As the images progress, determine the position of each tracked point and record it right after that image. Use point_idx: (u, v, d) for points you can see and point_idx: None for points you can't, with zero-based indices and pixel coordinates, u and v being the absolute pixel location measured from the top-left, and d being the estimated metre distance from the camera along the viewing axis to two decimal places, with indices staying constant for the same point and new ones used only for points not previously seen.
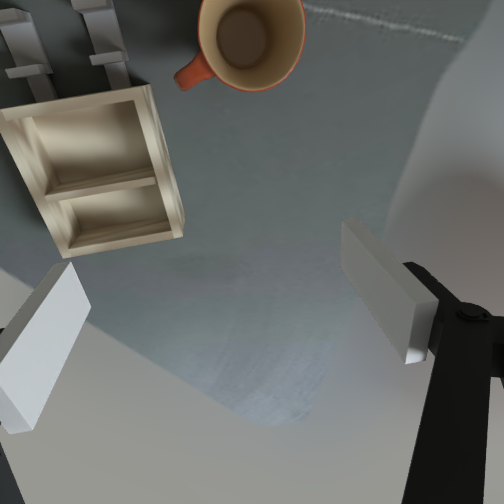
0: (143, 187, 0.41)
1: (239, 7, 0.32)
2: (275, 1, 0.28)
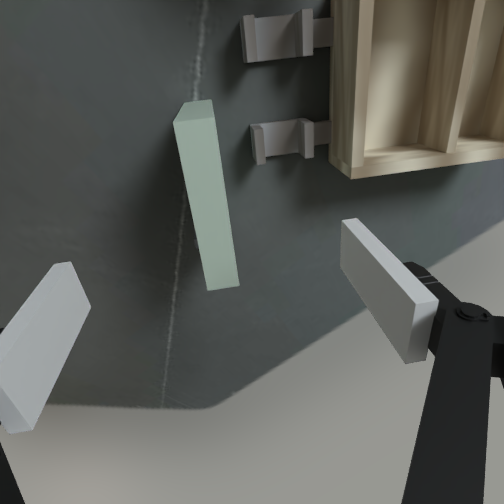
0: None
1: None
2: None
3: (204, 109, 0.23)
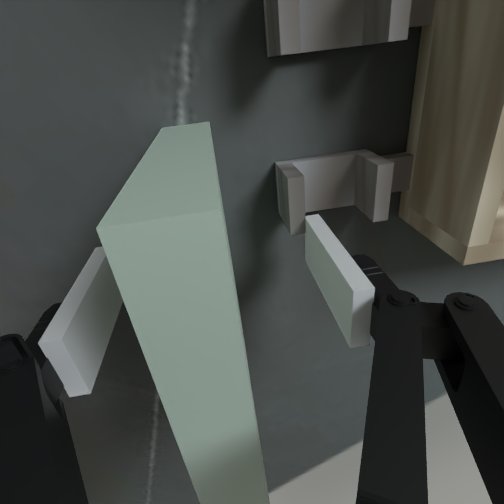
0: None
1: None
2: None
3: (195, 157, 0.10)
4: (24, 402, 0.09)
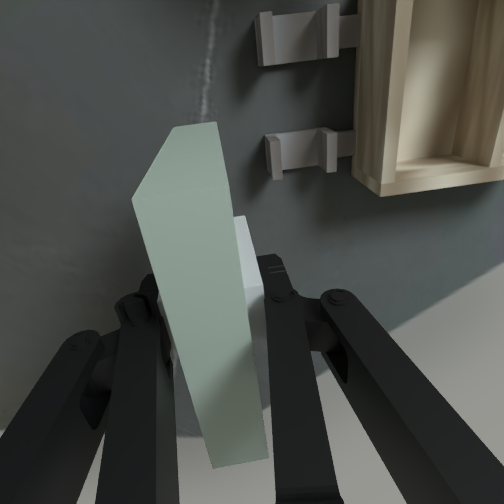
0: None
1: None
2: None
3: (205, 149, 0.12)
4: (143, 357, 0.10)
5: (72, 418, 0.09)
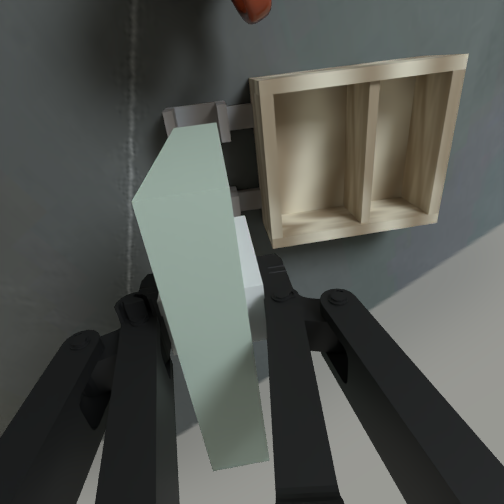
0: None
1: None
2: None
3: (205, 151, 0.12)
4: (143, 357, 0.10)
5: (72, 418, 0.09)
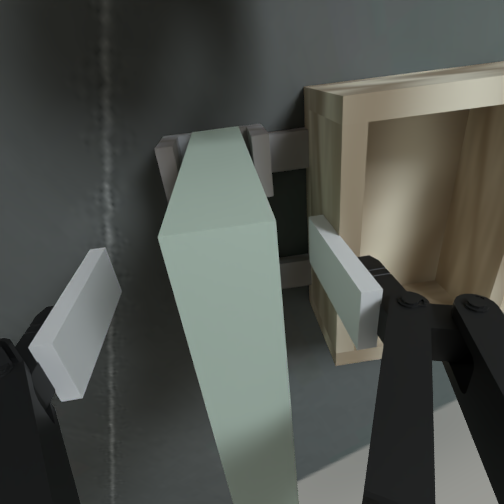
0: None
1: None
2: None
3: (234, 164, 0.11)
4: (14, 407, 0.09)
5: None
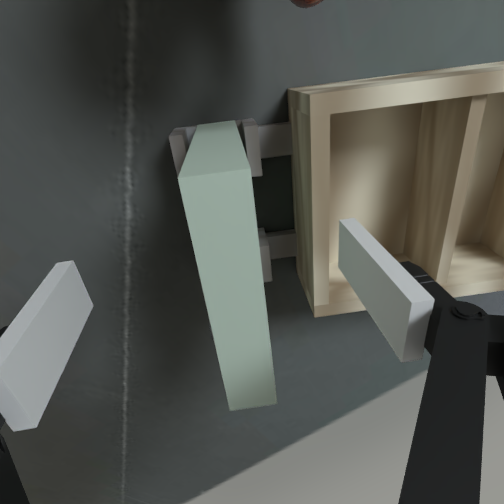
0: None
1: None
2: None
3: (228, 143, 0.15)
4: None
5: None
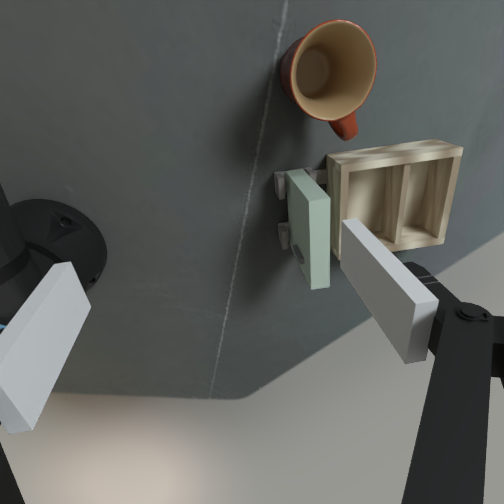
0: None
1: None
2: (306, 47, 0.33)
3: (313, 185, 0.40)
4: None
5: None
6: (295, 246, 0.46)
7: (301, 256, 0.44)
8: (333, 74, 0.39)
